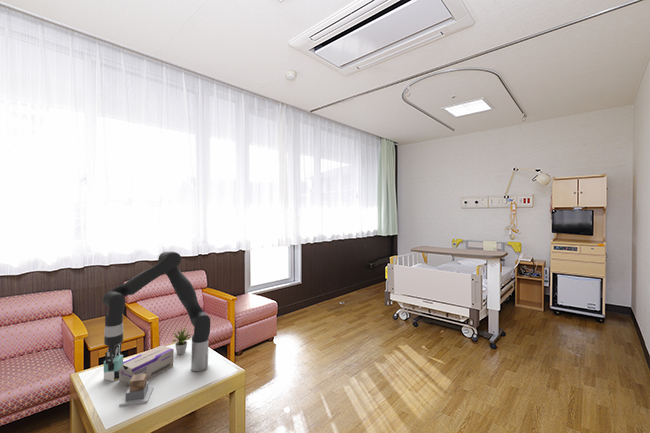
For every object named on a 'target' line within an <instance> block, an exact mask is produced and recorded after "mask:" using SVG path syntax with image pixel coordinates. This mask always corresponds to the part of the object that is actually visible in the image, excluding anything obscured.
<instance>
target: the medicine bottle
mask: <svg viewBox="0 0 650 433" xmlns="http://www.w3.org/2000/svg"><path fill="white" fill-rule="evenodd" d="M112 356H113V355H112ZM103 380H104V381H111V382H115V381H117V380H119V371H114V372H104V371H103Z"/></svg>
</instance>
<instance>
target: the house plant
mask: <svg viewBox="0 0 650 433" xmlns="http://www.w3.org/2000/svg"><path fill="white" fill-rule="evenodd" d="M186 327H187V326H185V327H183V329H182V327H181V328H180V331H179V330H178V329H177V330H176V331H173V332H172V334H173V335H174V336H173V337H174V338H176V339H177V340H176V339H173V340H172V343H175V342H176V343H175V344H174V345H175V350H176V354H177V355H183V354H185V353H186V351H187V345H188V342H187V340H190V341H192V336H193V334H192V333H190V332H191V329H190V330H188V328H186ZM187 330H188V331H187ZM186 331H187V332H186ZM176 332H177V333H176ZM189 333H190V334H189Z"/></svg>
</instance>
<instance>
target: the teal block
mask: <svg viewBox="0 0 650 433" xmlns="http://www.w3.org/2000/svg"><path fill="white" fill-rule="evenodd" d="M110 361H111V360H110ZM123 362H124V354H120V355H116V357H115V359H114V370H113V371H108V364H106V359H105V360H103V373H104V372H114V371H119V369H120V368H121V367H122V365H123Z"/></svg>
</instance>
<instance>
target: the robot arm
mask: <svg viewBox="0 0 650 433" xmlns="http://www.w3.org/2000/svg"><path fill="white" fill-rule="evenodd" d="M157 260H158V263H157V264H155V265H154V266H152V267H151V268H148V269H146V270H143V271H142V272H140V273H138V274H136V275H135V276H133V277H131V278H130V279H129V280H128V281H125V283H122V284H120V285H118V286H116V287H114V288H112V289H110V290H109V291H107V292H106V293H105V294H104V296H103V297H102V302H103V304H104V305H105V306H107V307H108V312H107V313H106V314H105V318H104V331H103V332H104V333H103V335H104V338H103V343H104V345H105V346H107V352H105V355H104V356H105V360H106V364H108V371H113V370H114V359H115V357H116V355H121V353H122V343H123V341H124V323H123V322H124V321H123V319H124V317H123V316H124V315H123V314H124V310H125V307H126V297H127V296H133V295H135V294H137V292H139V291H141V290H142V289H143V288H145V287H146V286H147V285H149V284H150V283H152V282H153V281H154V280H156V279H157V278H159V277H160V276H162V275H164V274H165V275H166V277H167V278H168V280H169V282H170V284H171V286H172V287H173V288H172V289H173V290H174V291H175V294H176V296H177V298H178V300H179V301H180V303H181V304H182V306H183V307H184V308H185V310H186V312H187V314H188V317H189V320H190V323H191V324H192V326H193V334H192V335H191V337H192V338H191V358H190V359H191V362H190V370H191V371H192V370H193V371H192V372H194V371H199V372H202V371H201V370H203V371H205V370H204V369H206V368H207V367H208V366H209V336H210V334H211V318H210V316H209V314H208V313H205V311H204V310H203V308H202V307H201V305H200V304H199V301H198V297H197V293H196V290H195V288H194V286H193V284H192V282H191V281H190V279H188V278H187V277H186V276H185V274H184V273H183V272H182V271H181V270H180V268H179V265H180V264H181V262H182V256H181V255H180V253H179V252H176V251H163V252H161V253H160V254H159V255H158V258H157ZM112 355H113V356H112ZM110 360H111V361H110ZM208 368H209V367H208ZM208 368H207V369H208ZM207 369H206V370H207Z"/></svg>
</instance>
